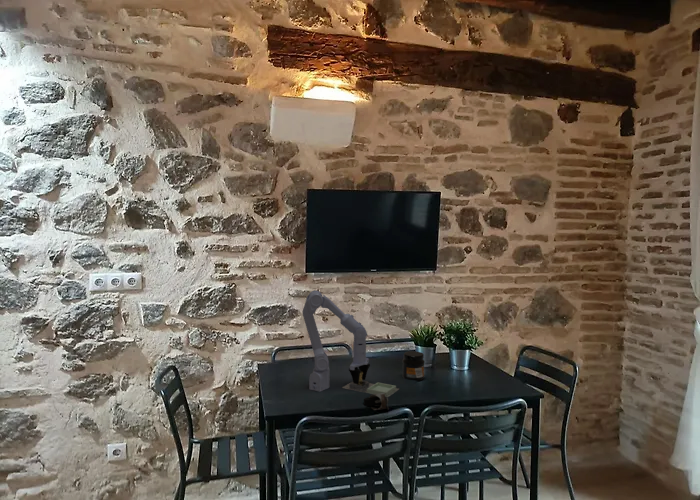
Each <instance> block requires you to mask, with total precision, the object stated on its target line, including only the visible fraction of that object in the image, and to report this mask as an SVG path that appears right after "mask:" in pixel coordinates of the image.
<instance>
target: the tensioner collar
mask: <svg viewBox="0 0 700 500" xmlns="http://www.w3.org/2000/svg"><path fill="white" fill-rule="evenodd" d="M369 383H370V381H367V380H362V384H354V383H353V381H351V382H350V384H349V383H348V384H349V387H354V388H359V389H363V388H365V387H367V386H368V385H369Z"/></svg>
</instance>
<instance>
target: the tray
mask: <svg viewBox="0 0 700 500" xmlns="http://www.w3.org/2000/svg"><path fill="white" fill-rule="evenodd" d="M373 384H374V385H373V386H371V387H369V388H368V389H367V392H369V393H368V394H370V393H374V394H379V393H385V396H386V395H388V394H389V393H391V392H392V391H394V390H395V389H396V388H397V385H394V384H393V385H392V384H389V383H383V382H376V383H373ZM385 391H386V392H385Z"/></svg>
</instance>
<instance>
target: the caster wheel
mask: <svg viewBox="0 0 700 500" xmlns="http://www.w3.org/2000/svg"><path fill="white" fill-rule="evenodd" d="M385 392H386V391H385ZM388 403H389V397H385V393H379V394H369V396H367V397H364V398H363V405H364V406H366V407H370V408H371V409H372V410H373V411H379V410H385V409H387V410H388V407H389V405H388Z"/></svg>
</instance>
